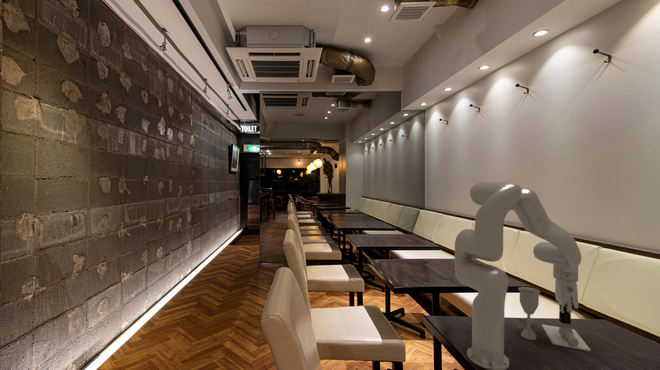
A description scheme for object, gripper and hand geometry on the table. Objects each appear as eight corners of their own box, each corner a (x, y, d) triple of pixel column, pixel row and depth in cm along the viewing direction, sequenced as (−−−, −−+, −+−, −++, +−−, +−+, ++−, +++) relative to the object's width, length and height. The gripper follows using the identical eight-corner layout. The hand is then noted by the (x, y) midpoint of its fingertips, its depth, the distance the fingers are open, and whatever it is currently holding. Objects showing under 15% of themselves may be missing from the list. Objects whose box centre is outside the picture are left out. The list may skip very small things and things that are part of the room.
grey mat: (590, 351, 105) (590, 349, 105) (552, 344, 110) (552, 342, 110) (574, 330, 120) (574, 329, 120) (541, 325, 124) (541, 324, 124)
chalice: (533, 332, 118) (534, 287, 118) (544, 341, 111) (544, 293, 111) (514, 331, 119) (514, 286, 119) (523, 340, 112) (524, 292, 112)
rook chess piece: (562, 337, 115) (571, 350, 107) (555, 327, 115) (564, 339, 108) (574, 333, 113) (584, 346, 106) (567, 323, 114) (577, 335, 106)
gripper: (585, 282, 106) (584, 333, 106) (570, 271, 119) (570, 316, 119) (559, 279, 109) (559, 329, 109) (548, 268, 122) (547, 313, 122)
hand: (564, 322), depth 114 cm, fingers closed
